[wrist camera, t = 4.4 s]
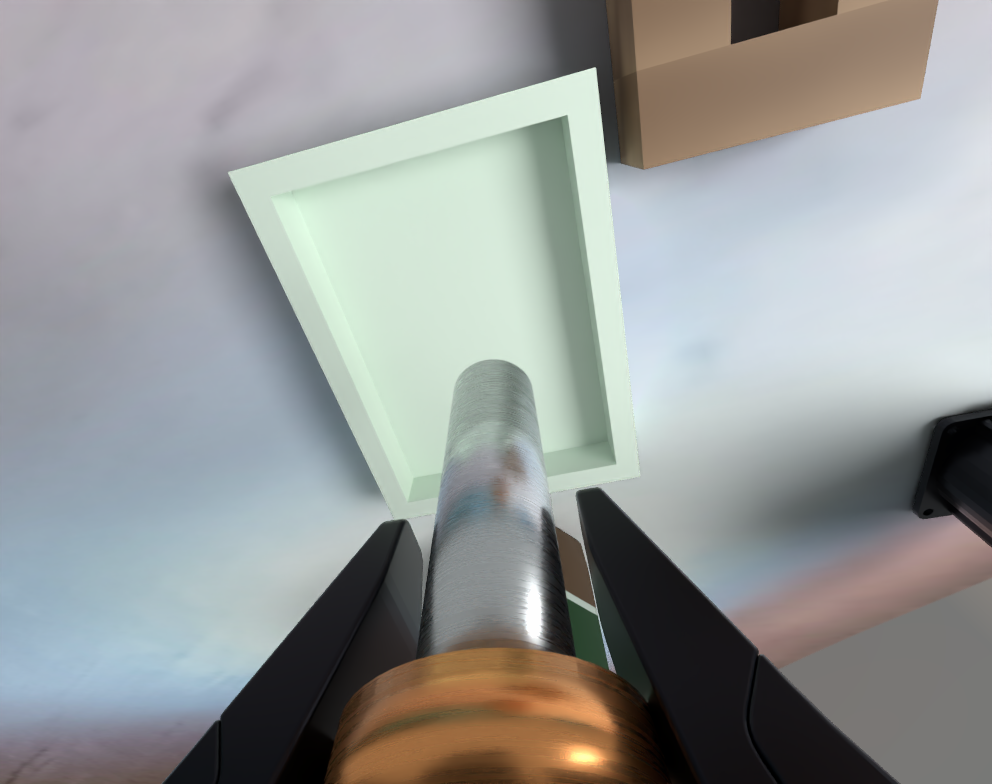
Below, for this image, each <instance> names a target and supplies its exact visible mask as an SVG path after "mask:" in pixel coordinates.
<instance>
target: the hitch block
mask: <svg viewBox="0 0 992 784" xmlns="http://www.w3.org/2000/svg"><path fill="white" fill-rule="evenodd" d="M937 5H938V0H780V10H779V30H778V32H774V33H770V34H767V35H763V36H760V37H756V38H753V39H749V40H746V41H742V42H739V43H735V44H731V0H606V9H607V19H608V30H609V40H610V51H611V62H612V72H613V83H614V93H615V104H616V114H617V125H618V136H619V146H620V157H621V163H622V164H625V165H629V166H633V167H636V168H640V169H648V168H652V167H656V166H660V165H663V164H667V163H671V162H675V161H679V160H683V159H687V158H691V157H695V156H699V155H702V154H706V153H710V152H714V151H718V150H722V149H726V148H730V147H734V146H737V145H741V144H745V143H749V142H753V141H757V140H761V139H765V138H769V137H773V136H776V135H780V134H784V133H788V132H792V131H796V130H800V129H804V128H808V127H811V126H815V125H819V124H823V123H827V122H831V121H835V120H839V119H843V118H847V117H850V116H854V115H858V114H862V113H866V112H870V111H874V110H878V109H882V108H885V107H889V106H893V105H897V104H901V103H905V102H909V101H913V100H917V99H920V98H921V92H922V87H923V81H924V76H925V71H926V65H927V60H928V54H929V49H930V43H931V38H932V32H933V27H934V22H935V16H936V11H937Z"/></svg>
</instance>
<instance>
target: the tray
mask: <svg viewBox="0 0 992 784" xmlns="http://www.w3.org/2000/svg"><path fill="white" fill-rule="evenodd" d="M228 174H229V176H230V178H231V180H232V183H233V185H234V187H235V189H236V191H237V193H238V195H239V197H240V199H241V201H242V203H243V205H244V208H245V210H246V212H247V214H248V216H249V218H250V220H251V222H252V224H253V226H254V228H255V230H256V233H257V235H258V237H259V239H260V241H261V243H262V245H263V247H264V249H265V251H266V253H267V255H268V258H269V260H270V262H271V264H272V266H273V268H274V270H275V272H276V274H277V276H278V278H279V281H280V283H281V285H282V287H283V289H284V291H285V293H286V295H287V297H288V299H289V301H290V303H291V306H292V308H293V310H294V312H295V314H296V316H297V318H298V320H299V322H300V324H301V326H302V328H303V331H304V333H305V335H306V337H307V339H308V341H309V343H310V345H311V347H312V349H313V351H314V353H315V356H316V358H317V360H318V362H319V364H320V366H321V368H322V370H323V372H324V374H325V376H326V378H327V381H328V383H329V385H330V387H331V389H332V391H333V393H334V395H335V397H336V399H337V401H338V403H339V406H340V408H341V410H342V412H343V414H344V416H345V418H346V420H347V422H348V424H349V426H350V428H351V431H352V433H353V435H354V437H355V439H356V441H357V443H358V445H359V447H360V449H361V451H362V453H363V456H364V458H365V460H366V462H367V464H368V466H369V468H370V470H371V472H372V474H373V476H374V478H375V481H376V483H377V485H378V487H379V489H380V491H381V493H382V495H383V497H384V499H385V501H386V503H387V506H388V508H389V510H390V512H391V514H392V516H393V518H394V520H398V519H409V518H415V517H421V516H426V515H432V514H436V511H437V504H438V497H439V490H440V483H441V476H442V469H443V462H444V455H445V448H446V441H447V434H448V427H449V420H450V413H451V406H452V398H453V391H454V386H455V383H456V381H457V379H458V377H459V376H460V374H461V373H462V372H463V371H464V370H465V369H466V368H468V367H469V366H471V365H472V364H474V363H477V362H479V361H483V360H489V359H498V360H504V361H507V362H510V363H512V364H514V365H516V366H518V367H519V368H521V369H522V370H523V371H524V372H525V373H526V375H527V376H528V378H529V379H530V381H531V384H532V387H533V393H534V400H535V406H536V412H537V418H538V424H539V430H540V437H541V443H542V449H543V455H544V461H545V468H546V474H547V480H548V486H549V492H550V493H554V492H560V491H565V490H571V489H576V488H582V487H587V486H593V485H598V484H604V483H610V482H615V481H621V480H626V479H632V478H637V477H640V468H639V459H638V450H637V440H636V431H635V422H634V413H633V404H632V394H631V385H630V376H629V367H628V358H627V349H626V339H625V330H624V321H623V312H622V303H621V293H620V284H619V275H618V266H617V257H616V247H615V238H614V229H613V220H612V211H611V201H610V192H609V183H608V174H607V165H606V156H605V146H604V137H603V128H602V119H601V110H600V100H599V91H598V82H597V73H596V67H594V68H591V69H587V70H584V71H580V72H577V73H573V74H570V75H566V76H563V77H559V78H556V79H552V80H549V81H545V82H542V83H538V84H535V85H531V86H528V87H524V88H521V89H517V90H514V91H510V92H507V93H503V94H500V95H496V96H493V97H489V98H486V99H482V100H479V101H475V102H472V103H468V104H465V105H461V106H458V107H454V108H451V109H447V110H444V111H440V112H437V113H433V114H430V115H426V116H423V117H419V118H416V119H413V120H409V121H406V122H402V123H399V124H395V125H392V126H388V127H385V128H381V129H378V130H374V131H371V132H367V133H364V134H360V135H357V136H353V137H350V138H346V139H343V140H339V141H336V142H332V143H329V144H325V145H322V146H318V147H315V148H311V149H308V150H304V151H301V152H297V153H294V154H290V155H287V156H283V157H280V158H276V159H273V160H269V161H266V162H262V163H259V164H255V165H252V166H248V167H245V168H241V169H238V170H234V171H231V172H228Z"/></svg>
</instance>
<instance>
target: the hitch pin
mask: <svg viewBox="0 0 992 784" xmlns="http://www.w3.org/2000/svg"><path fill="white" fill-rule="evenodd" d="M323 784H671V780H670V776H669V773H668V769H667V765H666V762H665V758H664V755H663V751H662V747H661V744H660V740H659V737H658V734H657V731H656V728H655V724H654V721H653V718H652V715H651V712H650V709H649V706H648V703H647V701H646V700H645V698H644V697H643V696H642V695H641V693H640V692H639V691H638V690H637V689H636V688H635V687H633V686H632V685H631V684H630V683H629V682H628V681H626V680H625V679H623V678H622V677H620V676H618V675H617V674H615V673H613V672H612V671H609V670H607V669H605V668H603V667H601V666H598V665H596V664H594V663H591V662H588V661H585V660H582V659H579V658H576V653H575V647H574V640H573V634H572V628H571V622H570V616H569V610H568V603H567V597H566V591H565V585H564V579H563V572H562V566H561V560H560V554H559V548H558V542H557V535H556V529H555V523H554V517H553V511H552V505H551V498H550V492H549V486H548V480H547V474H546V468H545V461H544V455H543V449H542V443H541V437H540V430H539V424H538V418H537V412H536V406H535V400H534V393H533V387H532V384H531V381H530V379H529V378H528V376H527V375H526V373H525V372H524V371H523V370H522V369H521V368H519V367H518V366H516V365H514V364H512V363H510V362H507V361H504V360H498V359H489V360H483V361H479V362H477V363H474V364H472V365H471V366H469V367H468V368H466V369H465V370H464V371H463V372H462V373H461V374H460V376H459V377H458V379H457V381H456V383H455V386H454V391H453V398H452V406H451V413H450V420H449V427H448V434H447V441H446V448H445V455H444V462H443V469H442V476H441V483H440V490H439V497H438V504H437V511H436V518H435V525H434V533H433V540H432V547H431V554H430V561H429V568H428V575H427V582H426V589H425V596H424V603H423V610H422V617H421V624H420V631H419V638H418V645H417V652H416V660H414V661H411V662H408V663H405V664H403V665H400V666H397V667H395V668H393V669H391V670H389V671H387V672H385V673H383V674H381V675H379V676H377V677H376V678H374V679H373V680H371V681H370V682H368V683H367V684H365V685H364V686H363V687H362V688H361V689H359V690H358V691H357V692H356V693H355V694H354V695H353V696H352V698H351V699H350V700H349V702H348V703H347V704H346V706H345V708H344V710H343V712H342V714H341V717H340V721H339V725H338V729H337V733H336V736H335V740H334V744H333V748H332V752H331V756H330V760H329V764H328V768H327V772H326V776H325V780H324V783H323Z"/></svg>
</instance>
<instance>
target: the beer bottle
mask: <svg viewBox="0 0 992 784" xmlns="http://www.w3.org/2000/svg"><path fill="white" fill-rule="evenodd" d="M555 529H556V535H557V542H558V548H559V554H560V560H561V566H562V572H563V579H564V585H565V591H566V597H567V603H568V610H569V616H570V622H571V628H572V634H573V640H574V647H575V653H576V658H579V659H582V660H585V661H588V662H591V663H594V664H596V665H598V666H601V667H603V668H605V669H607V670H609V667H608V663H607V658H606V653H605V648H604V644H603V639H602V634H601V629H600V624H599V620H598V615H597V610H596V605H595V601H594V596H593V591H592V586H591V581H590V577H589V572H588V568H587V564H586V561H585V557H584V553H583V550H582V546H581V544H580V543H579V542H578V541H577V540H576V539H574V538H573V537H571V536H570V535H568V534H567V533H565V532H563V531H562V530H560V529H559V528H557V527H556V526H555Z"/></svg>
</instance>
